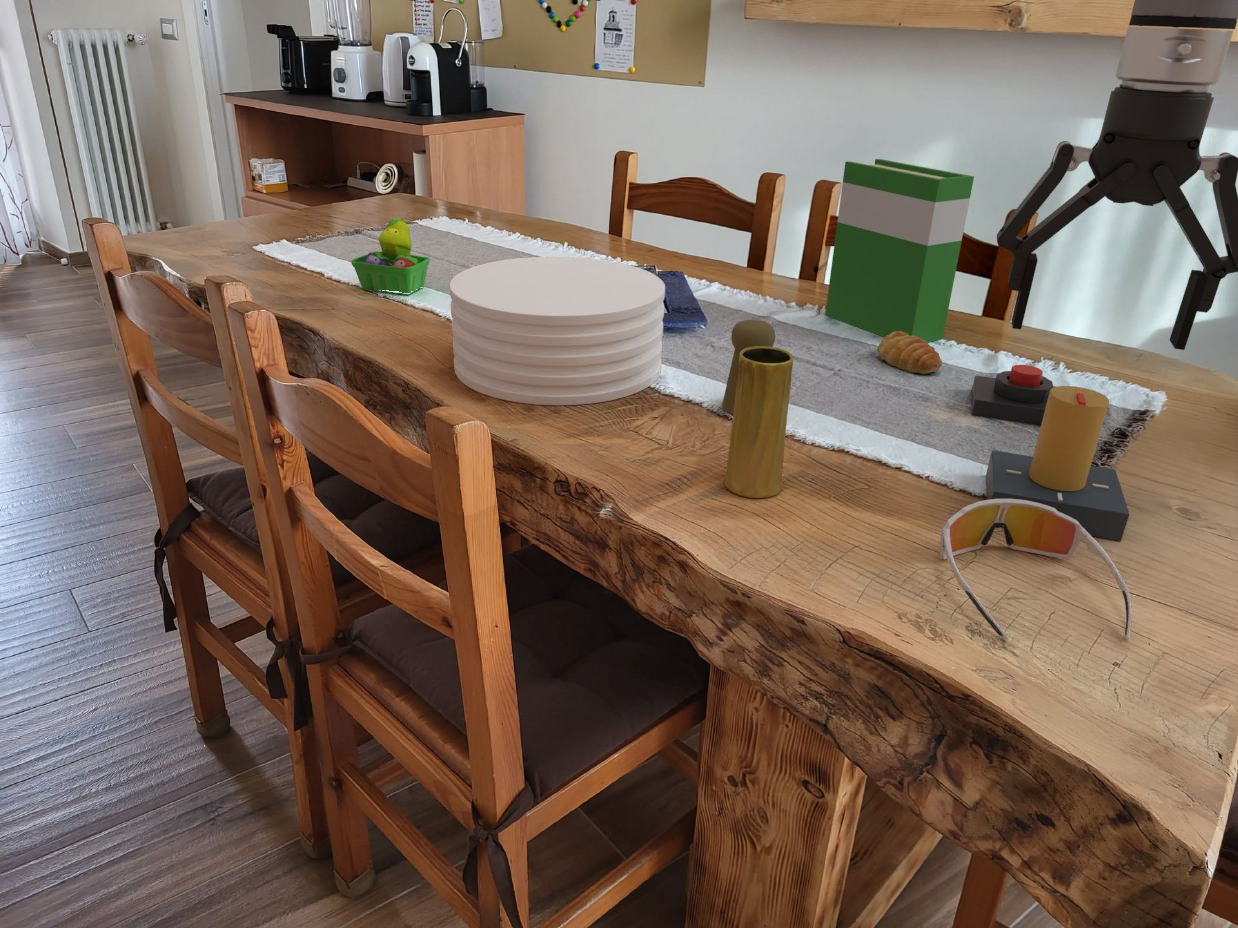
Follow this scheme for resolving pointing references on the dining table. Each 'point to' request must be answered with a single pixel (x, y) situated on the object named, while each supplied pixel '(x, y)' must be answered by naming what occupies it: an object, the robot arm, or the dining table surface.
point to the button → (1025, 375)
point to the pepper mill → (744, 337)
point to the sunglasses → (1020, 539)
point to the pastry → (909, 353)
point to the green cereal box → (897, 247)
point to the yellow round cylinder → (1068, 438)
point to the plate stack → (557, 329)
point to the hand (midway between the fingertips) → (1094, 335)
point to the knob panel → (1063, 494)
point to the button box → (1010, 399)
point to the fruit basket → (392, 263)
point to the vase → (759, 422)
